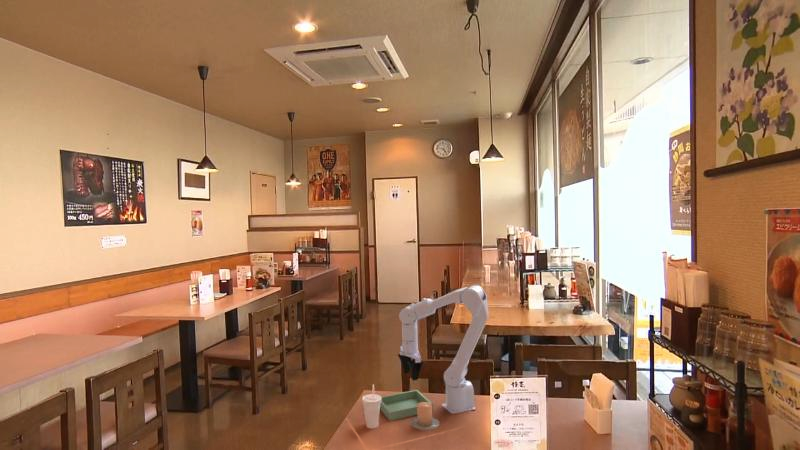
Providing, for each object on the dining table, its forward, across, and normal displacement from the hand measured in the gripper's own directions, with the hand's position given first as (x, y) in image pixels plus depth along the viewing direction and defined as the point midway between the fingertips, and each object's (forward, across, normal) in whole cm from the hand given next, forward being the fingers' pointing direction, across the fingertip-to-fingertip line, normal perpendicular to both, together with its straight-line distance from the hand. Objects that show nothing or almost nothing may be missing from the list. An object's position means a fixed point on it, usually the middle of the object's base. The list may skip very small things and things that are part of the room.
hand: (410, 376), depth 159 cm
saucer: (+9, +18, -3) cm, 21 cm away
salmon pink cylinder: (+9, +18, -3) cm, 20 cm away
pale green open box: (+9, +5, -5) cm, 12 cm away
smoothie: (+10, +12, -19) cm, 25 cm away
